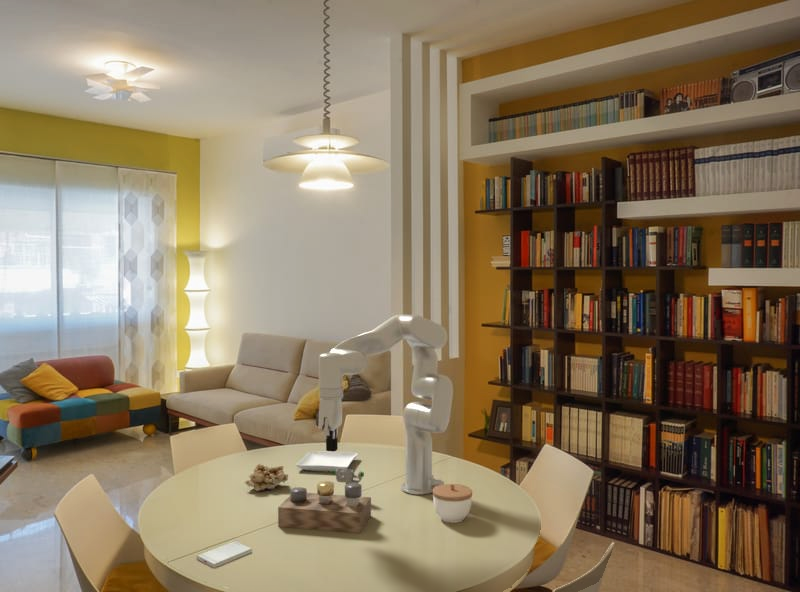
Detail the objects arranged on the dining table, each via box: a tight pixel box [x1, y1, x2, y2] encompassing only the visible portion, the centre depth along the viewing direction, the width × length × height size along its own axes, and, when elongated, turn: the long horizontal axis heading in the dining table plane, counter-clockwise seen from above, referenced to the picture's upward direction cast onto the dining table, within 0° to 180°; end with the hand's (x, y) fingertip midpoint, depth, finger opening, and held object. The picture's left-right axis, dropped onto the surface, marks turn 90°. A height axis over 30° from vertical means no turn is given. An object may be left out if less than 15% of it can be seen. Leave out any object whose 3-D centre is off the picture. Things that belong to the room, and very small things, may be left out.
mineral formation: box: [244, 463, 289, 492], centre depth 230 cm, size 8×13×15 cm
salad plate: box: [296, 450, 359, 473], centre depth 257 cm, size 21×21×3 cm
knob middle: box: [316, 480, 335, 505], centre depth 199 cm, size 5×5×8 cm
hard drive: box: [196, 540, 253, 569], centre depth 174 cm, size 2×8×12 cm
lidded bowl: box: [432, 483, 473, 524], centre depth 201 cm, size 13×13×11 cm
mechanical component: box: [333, 468, 365, 485], centre depth 218 cm, size 3×10×10 cm, turn 78°
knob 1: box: [289, 486, 308, 503], centre depth 200 cm, size 5×5×8 cm
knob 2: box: [344, 483, 363, 507], centre depth 197 cm, size 5×5×8 cm
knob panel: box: [277, 492, 372, 534], centre depth 199 cm, size 26×14×6 cm, turn 79°
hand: (331, 450), depth 198 cm, fingers closed
